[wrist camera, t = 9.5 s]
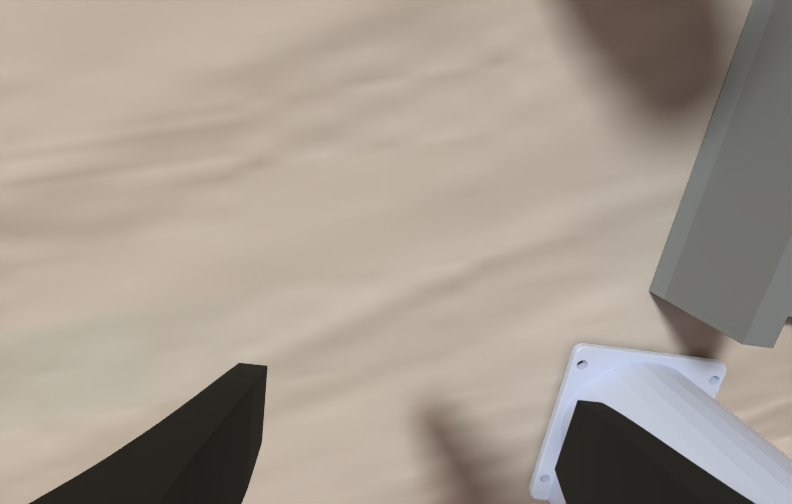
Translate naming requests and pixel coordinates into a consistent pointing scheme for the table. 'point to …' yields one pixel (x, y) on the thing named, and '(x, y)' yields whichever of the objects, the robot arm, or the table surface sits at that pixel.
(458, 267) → the table surface
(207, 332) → the table surface
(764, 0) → the board
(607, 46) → the table surface
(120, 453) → the robot arm
